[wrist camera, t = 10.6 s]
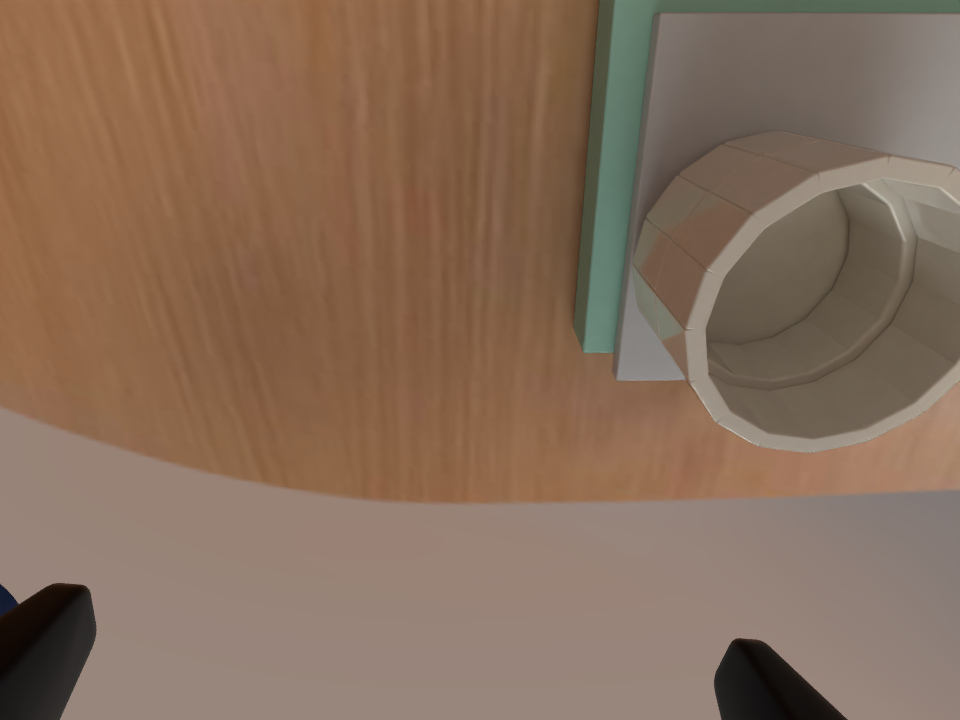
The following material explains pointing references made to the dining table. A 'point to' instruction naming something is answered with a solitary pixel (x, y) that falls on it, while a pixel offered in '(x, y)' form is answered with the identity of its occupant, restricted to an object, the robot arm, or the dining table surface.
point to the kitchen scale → (741, 116)
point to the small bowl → (806, 287)
